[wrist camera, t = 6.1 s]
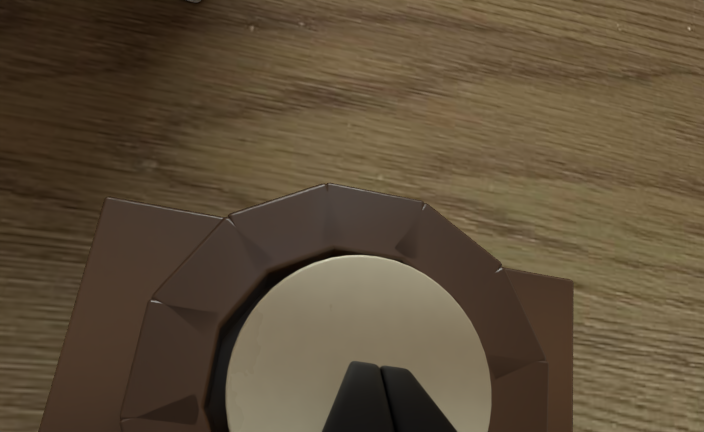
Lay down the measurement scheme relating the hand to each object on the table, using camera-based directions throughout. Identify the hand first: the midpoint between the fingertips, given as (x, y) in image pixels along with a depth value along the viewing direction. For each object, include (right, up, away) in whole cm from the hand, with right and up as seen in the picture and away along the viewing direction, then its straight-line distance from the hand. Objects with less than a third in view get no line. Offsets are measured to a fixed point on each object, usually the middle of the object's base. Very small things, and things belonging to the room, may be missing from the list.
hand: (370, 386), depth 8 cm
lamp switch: (-1, -1, +2) cm, 3 cm away
